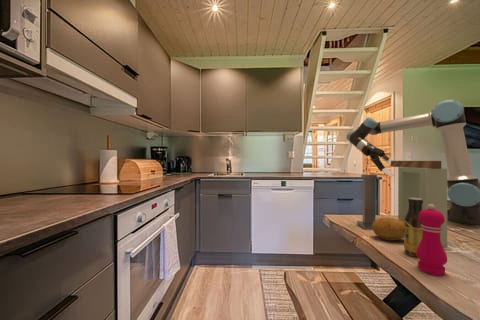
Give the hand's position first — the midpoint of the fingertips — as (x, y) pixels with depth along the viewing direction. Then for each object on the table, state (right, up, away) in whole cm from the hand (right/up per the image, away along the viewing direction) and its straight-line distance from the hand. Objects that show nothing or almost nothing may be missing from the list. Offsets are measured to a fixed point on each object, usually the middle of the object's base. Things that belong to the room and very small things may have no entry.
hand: (392, 170), depth 131 cm
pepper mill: (-30, -27, -63) cm, 75 cm away
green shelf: (-11, -27, -34) cm, 45 cm away
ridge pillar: (-24, -27, -18) cm, 41 cm away
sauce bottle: (-26, -27, -51) cm, 64 cm away
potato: (-25, -28, -36) cm, 52 cm away
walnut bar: (-11, +3, -29) cm, 31 cm away
